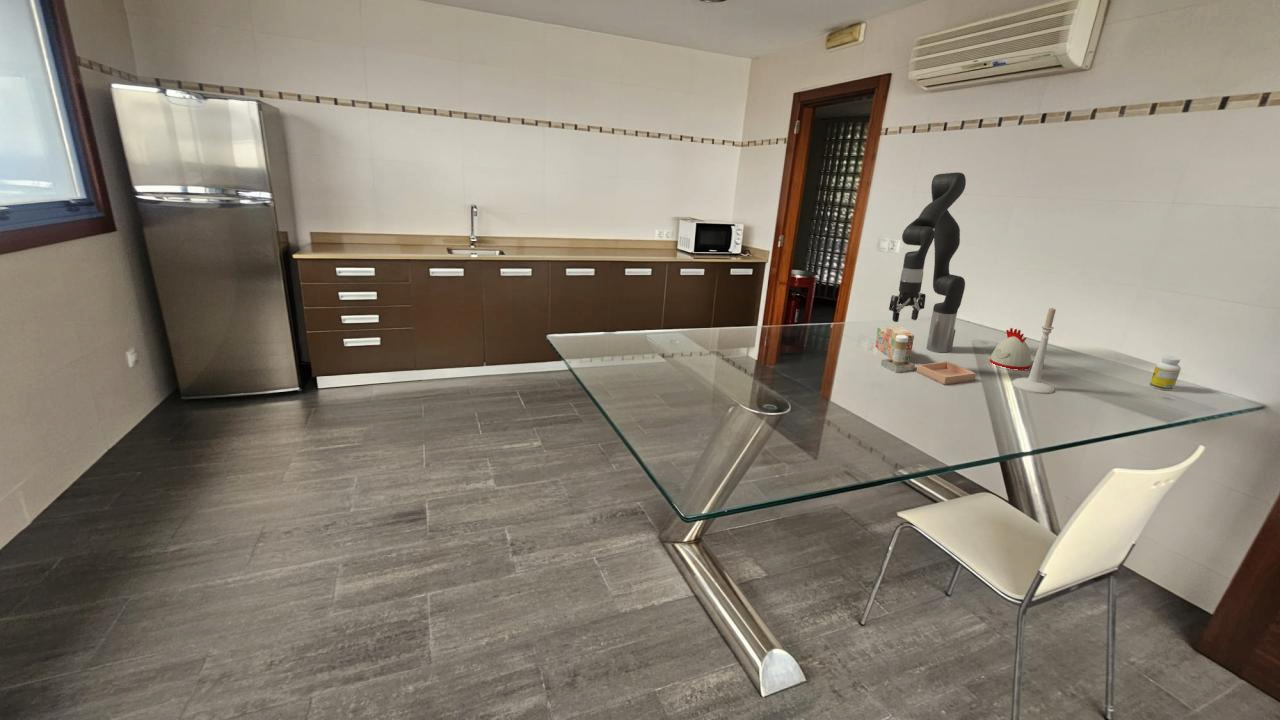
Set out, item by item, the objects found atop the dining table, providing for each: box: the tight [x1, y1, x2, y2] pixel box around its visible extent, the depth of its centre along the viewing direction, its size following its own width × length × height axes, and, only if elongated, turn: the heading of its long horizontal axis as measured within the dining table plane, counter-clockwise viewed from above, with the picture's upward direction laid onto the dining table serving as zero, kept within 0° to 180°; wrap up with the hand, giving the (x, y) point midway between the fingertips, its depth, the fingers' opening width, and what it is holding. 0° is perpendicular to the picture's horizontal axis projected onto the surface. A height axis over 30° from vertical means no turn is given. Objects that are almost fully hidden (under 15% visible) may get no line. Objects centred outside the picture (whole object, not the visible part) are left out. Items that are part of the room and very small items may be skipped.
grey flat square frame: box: [880, 358, 916, 374], centre depth 216 cm, size 9×9×2 cm
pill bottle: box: [1149, 355, 1182, 391], centre depth 192 cm, size 6×6×12 cm
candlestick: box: [1011, 307, 1057, 395], centre depth 191 cm, size 13×13×30 cm
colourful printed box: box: [875, 326, 915, 363], centre depth 230 cm, size 21×6×12 cm, turn 179°
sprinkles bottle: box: [892, 335, 908, 366], centre depth 214 cm, size 5×5×14 cm
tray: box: [916, 360, 977, 386], centre depth 207 cm, size 14×14×3 cm
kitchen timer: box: [989, 327, 1032, 371], centre depth 216 cm, size 14×14×15 cm
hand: (904, 320), depth 210 cm, fingers open, 8 cm apart
